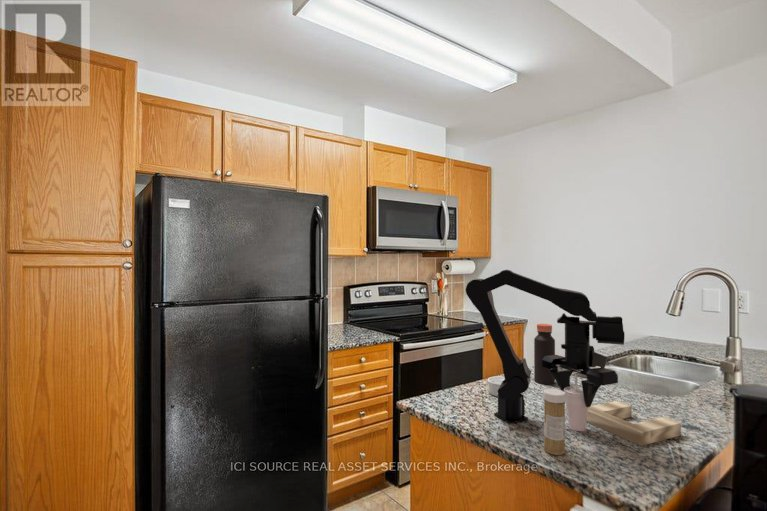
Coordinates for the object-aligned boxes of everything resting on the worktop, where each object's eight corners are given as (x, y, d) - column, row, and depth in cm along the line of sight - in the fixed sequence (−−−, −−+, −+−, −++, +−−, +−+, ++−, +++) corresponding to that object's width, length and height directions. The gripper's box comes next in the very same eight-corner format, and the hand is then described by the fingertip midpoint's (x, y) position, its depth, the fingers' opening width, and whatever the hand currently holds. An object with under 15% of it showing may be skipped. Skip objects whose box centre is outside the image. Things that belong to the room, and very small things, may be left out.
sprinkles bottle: (548, 444, 93) (548, 386, 94) (568, 451, 90) (568, 391, 90) (540, 451, 90) (540, 391, 90) (561, 458, 87) (561, 396, 87)
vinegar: (557, 385, 138) (557, 326, 138) (536, 384, 139) (536, 326, 139) (552, 379, 144) (552, 323, 144) (532, 378, 145) (532, 323, 146)
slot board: (641, 445, 93) (641, 432, 93) (580, 419, 108) (580, 408, 108) (680, 435, 98) (680, 423, 98) (617, 411, 114) (617, 400, 114)
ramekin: (486, 396, 126) (486, 382, 126) (488, 388, 135) (488, 375, 135) (516, 399, 124) (516, 385, 124) (516, 391, 132) (516, 377, 132)
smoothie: (559, 428, 102) (559, 373, 103) (569, 421, 107) (569, 368, 107) (586, 436, 98) (585, 378, 98) (595, 428, 102) (594, 373, 103)
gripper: (633, 345, 97) (633, 410, 97) (570, 333, 114) (570, 388, 114) (600, 349, 93) (601, 417, 93) (540, 335, 110) (540, 393, 110)
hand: (577, 402), depth 103 cm, fingers closed on smoothie, 6 cm apart
